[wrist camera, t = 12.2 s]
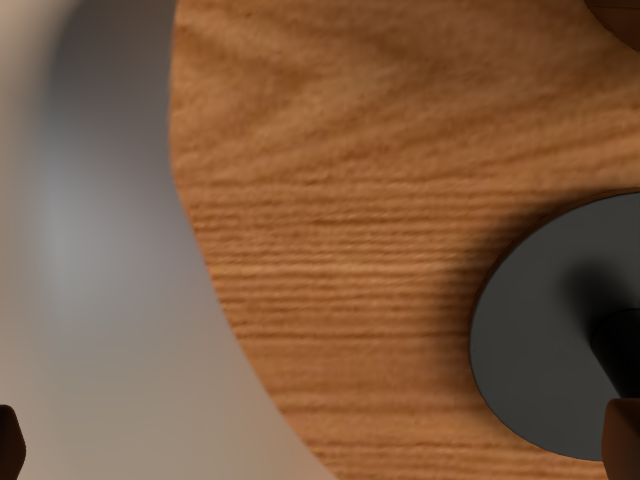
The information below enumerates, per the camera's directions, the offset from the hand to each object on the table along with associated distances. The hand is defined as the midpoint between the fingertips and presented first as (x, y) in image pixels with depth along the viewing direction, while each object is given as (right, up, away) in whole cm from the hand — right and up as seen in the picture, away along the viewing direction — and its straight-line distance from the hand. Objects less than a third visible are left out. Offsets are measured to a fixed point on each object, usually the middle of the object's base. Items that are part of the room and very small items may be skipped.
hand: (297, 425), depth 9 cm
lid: (+11, 0, +12) cm, 16 cm away
